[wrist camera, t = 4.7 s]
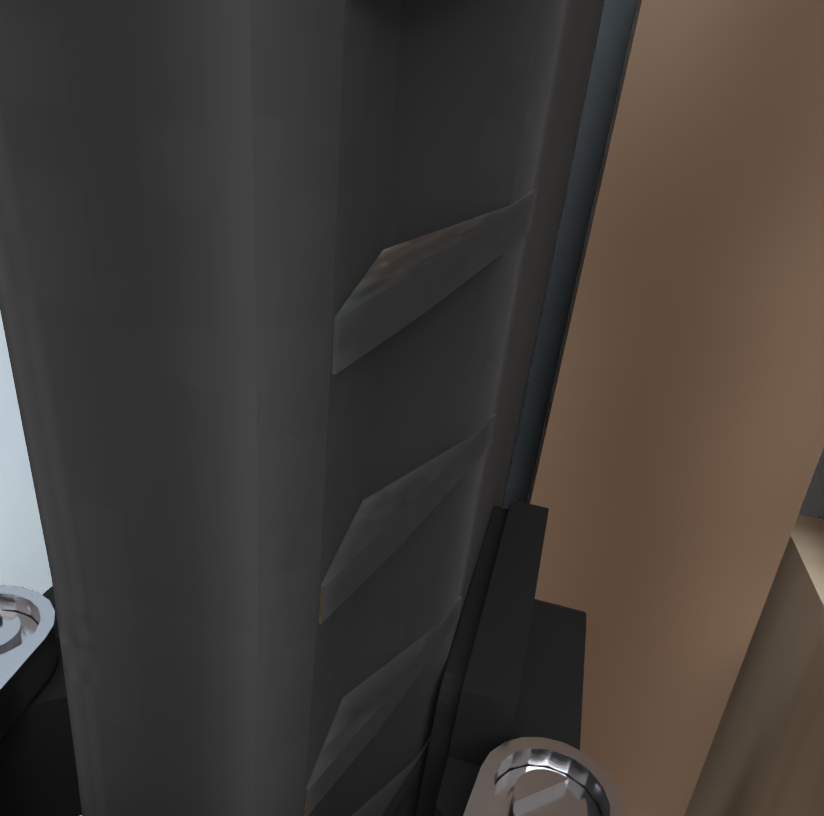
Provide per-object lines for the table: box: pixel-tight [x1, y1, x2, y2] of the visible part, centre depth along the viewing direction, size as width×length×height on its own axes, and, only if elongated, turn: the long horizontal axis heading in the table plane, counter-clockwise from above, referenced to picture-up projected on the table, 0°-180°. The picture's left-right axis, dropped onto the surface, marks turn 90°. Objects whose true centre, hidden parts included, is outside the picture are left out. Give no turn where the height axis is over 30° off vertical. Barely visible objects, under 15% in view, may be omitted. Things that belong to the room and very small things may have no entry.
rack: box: [527, 0, 824, 816], centre depth 14 cm, size 18×32×3 cm, turn 172°
